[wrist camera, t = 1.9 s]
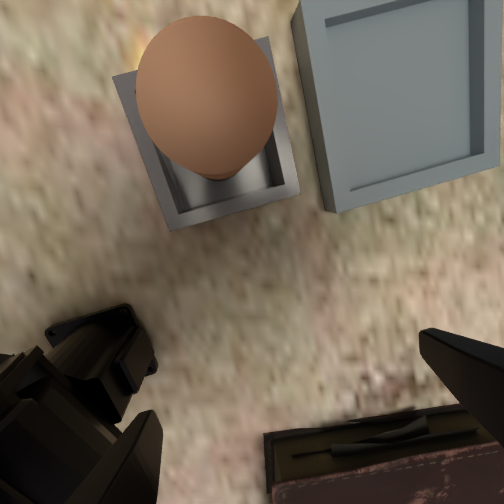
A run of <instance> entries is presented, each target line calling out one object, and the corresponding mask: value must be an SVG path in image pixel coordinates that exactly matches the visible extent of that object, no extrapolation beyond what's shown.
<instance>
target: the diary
mask: <svg viewBox="0 0 504 504" xmlns="http://www.w3.org/2000/svg"><path fill="white" fill-rule="evenodd" d="M349 422H360V423H355V424H349V425H343V426H336V427H330V428H298V429H290V430H283V431H276V432H269V433H263V435H264V452H265V469H266V486H267V493H272V504H504V448H503V447H502V446H501V445H500V444H499V443H498V442H497V441H496V440H495V439H494V438H493V437H492V435H491V434H490V433H489V432H488V431H487V430H486V429H485V428H484V427H483V426H482V425H481V424H480V423H479V422H478V421H477V420H476V419H475V418H474V417H473V416H472V415H471V414H470V413H469V412H468V411H467V410H466V409H465V408H464V407H463V405H462V404H453V405H446V406H439V407H432V408H426V409H420V410H415V411H409V412H403V413H397V414H392V415H387V416H376V417H368V418H360V419H355V420H349Z"/></svg>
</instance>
